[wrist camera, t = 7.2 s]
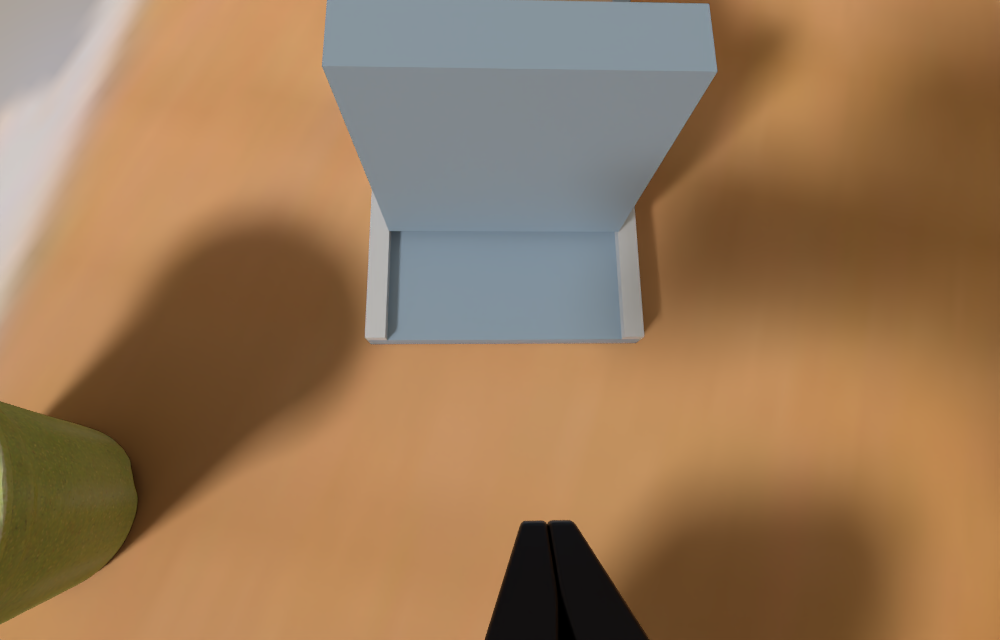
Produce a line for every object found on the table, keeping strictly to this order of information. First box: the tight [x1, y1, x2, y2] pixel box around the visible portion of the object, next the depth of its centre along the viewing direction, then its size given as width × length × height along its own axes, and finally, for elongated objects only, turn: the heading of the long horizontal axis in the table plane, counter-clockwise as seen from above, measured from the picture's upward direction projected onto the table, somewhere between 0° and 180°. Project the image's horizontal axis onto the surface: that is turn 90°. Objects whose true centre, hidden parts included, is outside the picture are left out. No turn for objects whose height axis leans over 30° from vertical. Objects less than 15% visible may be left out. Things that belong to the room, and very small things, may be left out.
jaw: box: [322, 0, 717, 232], centre depth 19 cm, size 2×10×10 cm, turn 90°
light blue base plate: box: [365, 190, 644, 344], centre depth 24 cm, size 14×11×1 cm
